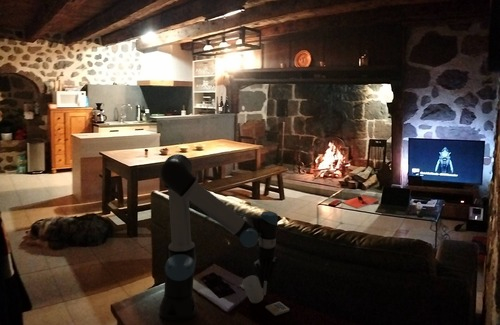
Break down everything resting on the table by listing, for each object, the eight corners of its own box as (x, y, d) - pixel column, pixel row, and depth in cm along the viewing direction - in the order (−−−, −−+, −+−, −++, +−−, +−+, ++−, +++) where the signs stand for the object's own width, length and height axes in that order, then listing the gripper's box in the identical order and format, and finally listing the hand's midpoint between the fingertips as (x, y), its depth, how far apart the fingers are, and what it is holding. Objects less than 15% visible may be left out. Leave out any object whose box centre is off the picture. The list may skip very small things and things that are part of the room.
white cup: (263, 304, 179) (257, 288, 175) (246, 304, 181) (240, 289, 177) (266, 290, 186) (260, 274, 181) (250, 291, 188) (244, 275, 184)
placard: (265, 307, 178) (265, 305, 178) (279, 303, 183) (279, 301, 183) (275, 315, 173) (275, 313, 172) (289, 311, 177) (289, 308, 177)
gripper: (260, 251, 174) (256, 301, 179) (283, 246, 182) (278, 293, 186) (250, 245, 180) (246, 293, 185) (273, 240, 188) (268, 286, 192)
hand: (262, 293), depth 185 cm, fingers closed
